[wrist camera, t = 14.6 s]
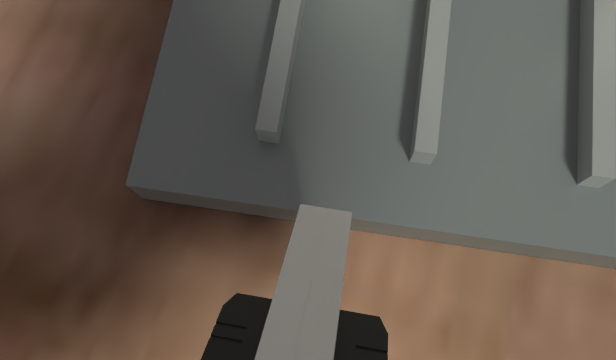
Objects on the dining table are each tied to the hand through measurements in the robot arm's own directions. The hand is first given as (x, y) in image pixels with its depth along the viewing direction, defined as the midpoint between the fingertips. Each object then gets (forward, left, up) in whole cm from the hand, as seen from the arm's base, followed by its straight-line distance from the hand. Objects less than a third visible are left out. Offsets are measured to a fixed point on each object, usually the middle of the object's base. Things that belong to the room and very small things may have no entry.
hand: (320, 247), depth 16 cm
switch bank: (-6, -10, -6) cm, 13 cm away
